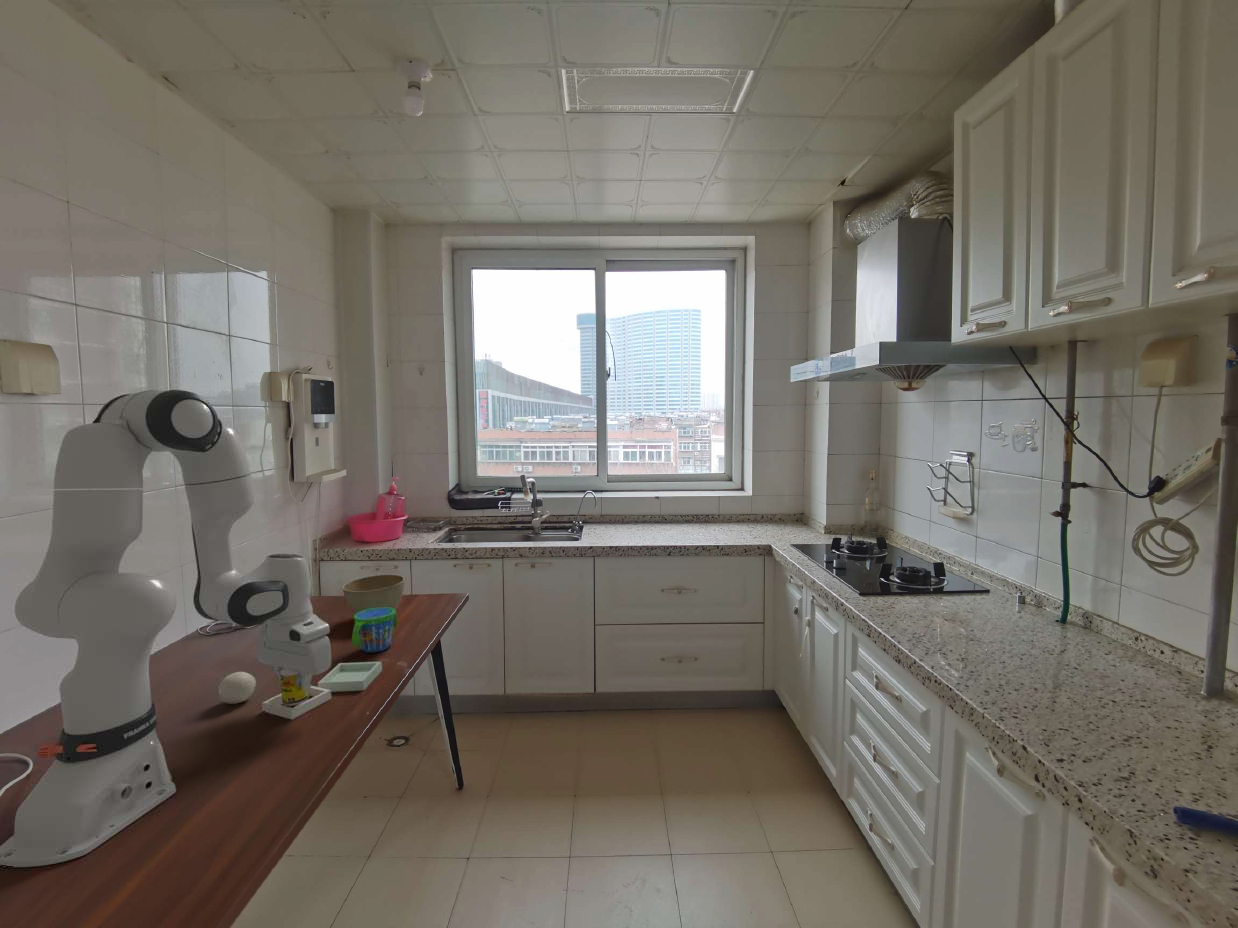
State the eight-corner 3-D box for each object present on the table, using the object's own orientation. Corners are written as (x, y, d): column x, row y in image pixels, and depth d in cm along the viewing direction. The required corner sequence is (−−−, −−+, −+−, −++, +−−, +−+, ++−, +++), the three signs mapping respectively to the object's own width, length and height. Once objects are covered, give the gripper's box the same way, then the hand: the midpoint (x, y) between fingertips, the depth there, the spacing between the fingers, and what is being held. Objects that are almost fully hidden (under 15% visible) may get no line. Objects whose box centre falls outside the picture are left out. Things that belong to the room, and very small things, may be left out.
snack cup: (384, 635, 167) (382, 602, 166) (412, 640, 163) (409, 605, 162) (339, 656, 152) (337, 620, 152) (368, 662, 148) (365, 624, 147)
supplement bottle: (277, 703, 125) (274, 661, 124) (300, 693, 129) (297, 653, 129) (291, 708, 122) (287, 665, 122) (314, 698, 127) (311, 657, 126)
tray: (363, 690, 132) (363, 680, 132) (318, 692, 132) (317, 682, 132) (382, 670, 143) (381, 661, 143) (340, 671, 143) (339, 663, 143)
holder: (331, 698, 129) (330, 690, 129) (292, 719, 120) (291, 710, 120) (302, 691, 133) (302, 683, 133) (262, 711, 124) (262, 702, 124)
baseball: (264, 694, 132) (262, 667, 131) (236, 710, 125) (233, 681, 124) (242, 692, 134) (239, 664, 133) (212, 707, 127) (209, 678, 126)
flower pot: (350, 614, 187) (347, 578, 186) (408, 606, 193) (405, 572, 192) (341, 633, 170) (338, 593, 169) (404, 624, 175) (402, 586, 174)
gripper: (246, 624, 126) (251, 684, 127) (308, 636, 118) (312, 700, 119) (274, 615, 132) (278, 673, 133) (334, 626, 123) (338, 687, 124)
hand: (295, 686), depth 126 cm, fingers closed on supplement bottle, 5 cm apart
